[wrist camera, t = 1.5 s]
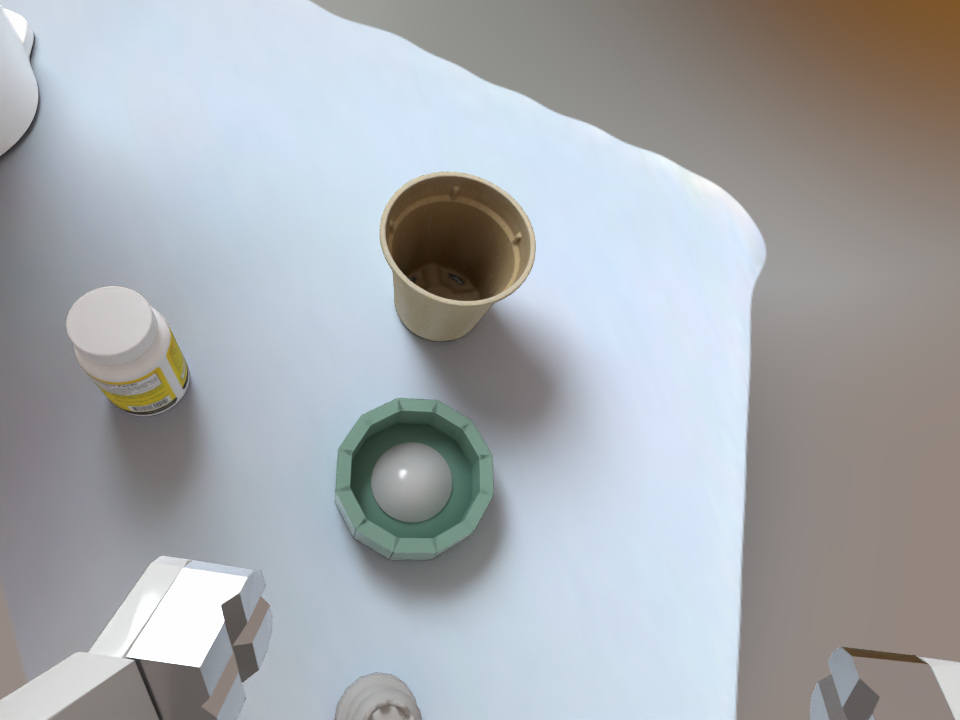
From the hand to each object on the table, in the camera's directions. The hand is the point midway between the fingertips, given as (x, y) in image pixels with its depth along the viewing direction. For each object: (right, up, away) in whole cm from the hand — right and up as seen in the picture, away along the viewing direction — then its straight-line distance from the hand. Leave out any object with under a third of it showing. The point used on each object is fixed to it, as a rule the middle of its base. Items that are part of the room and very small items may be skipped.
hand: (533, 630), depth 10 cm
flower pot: (-4, +8, +38) cm, 39 cm away
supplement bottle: (-21, +3, +32) cm, 38 cm away
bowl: (-5, -4, +32) cm, 33 cm away
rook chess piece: (-6, -16, +27) cm, 32 cm away
